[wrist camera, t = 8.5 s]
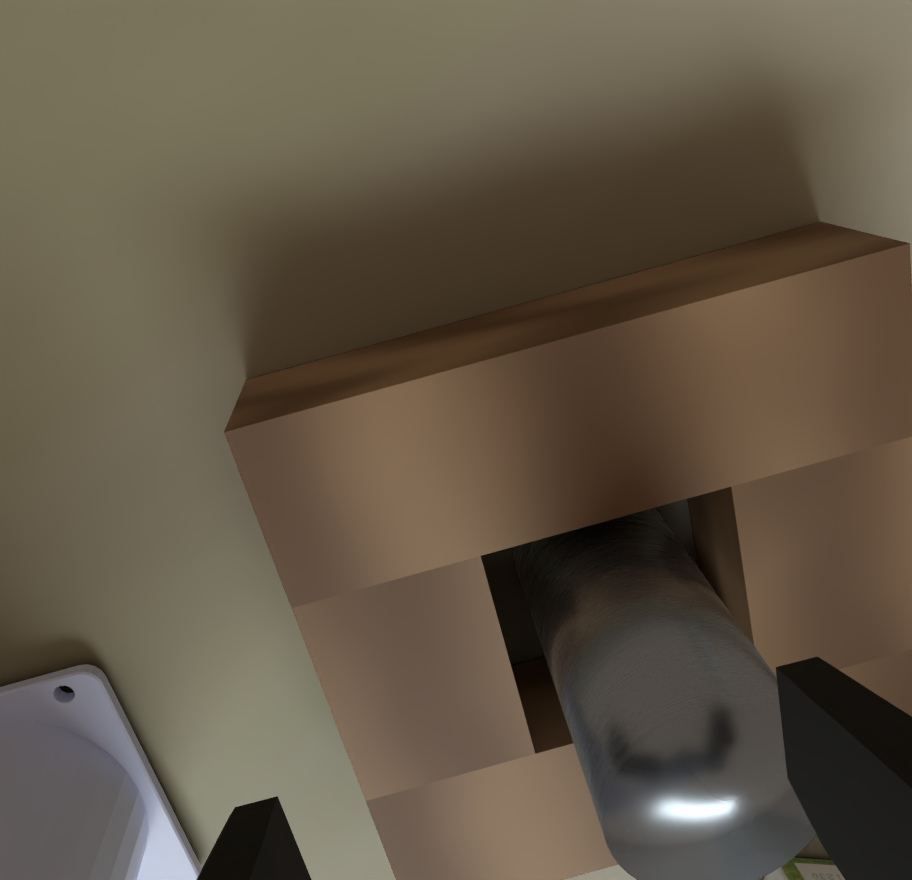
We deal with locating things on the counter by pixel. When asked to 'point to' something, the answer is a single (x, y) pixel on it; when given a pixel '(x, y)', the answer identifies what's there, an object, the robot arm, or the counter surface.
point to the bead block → (585, 513)
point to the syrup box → (806, 870)
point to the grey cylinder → (663, 704)
